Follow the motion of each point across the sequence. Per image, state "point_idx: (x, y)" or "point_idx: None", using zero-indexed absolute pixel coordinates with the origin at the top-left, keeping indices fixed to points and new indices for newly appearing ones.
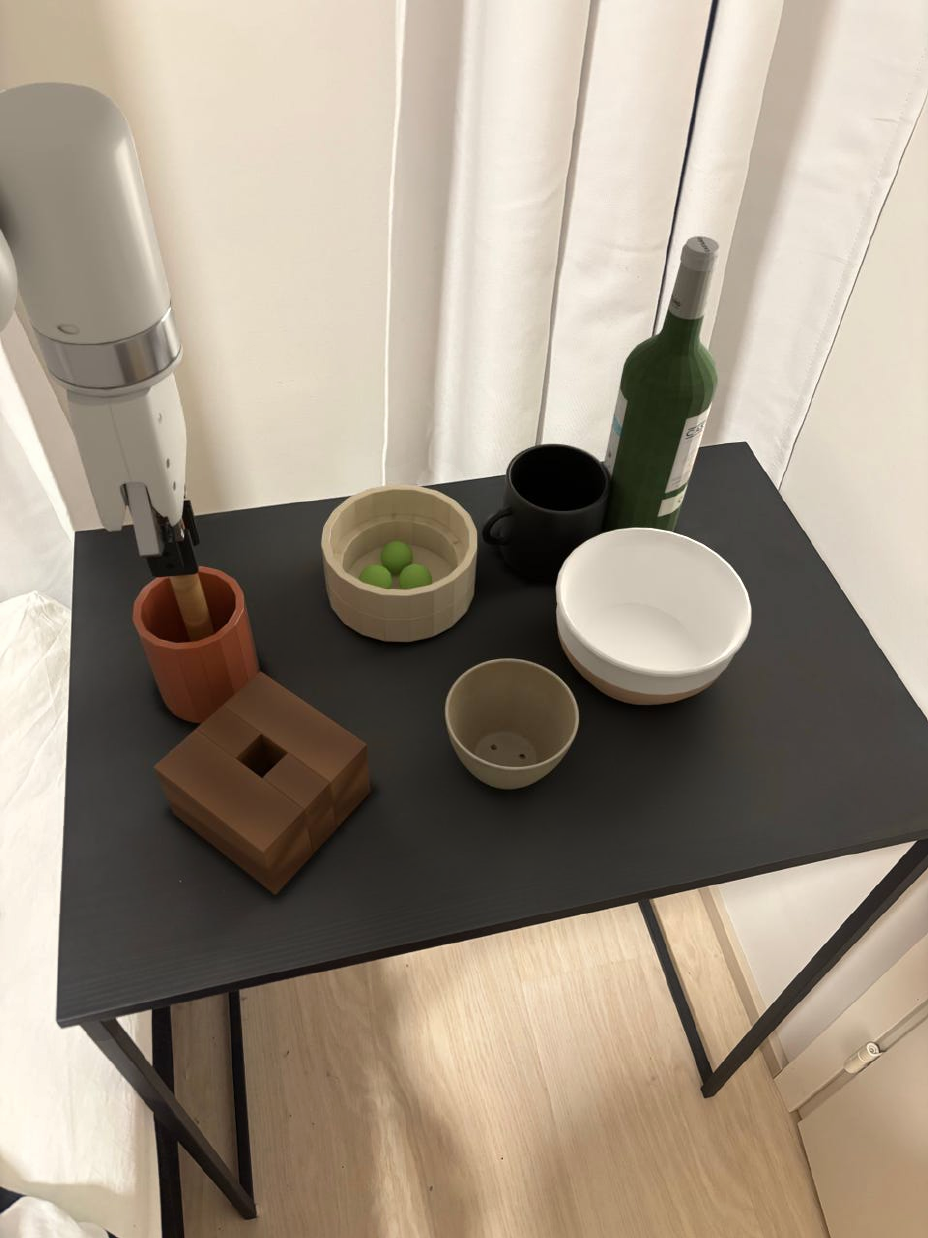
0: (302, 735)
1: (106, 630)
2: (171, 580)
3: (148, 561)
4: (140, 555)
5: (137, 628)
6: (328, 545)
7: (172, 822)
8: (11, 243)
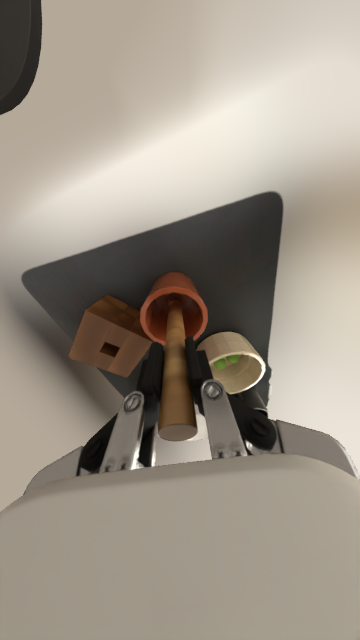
0: (124, 360)
1: (205, 228)
2: (168, 335)
3: (148, 357)
4: (29, 483)
5: (151, 295)
6: (230, 354)
7: (104, 294)
8: None
